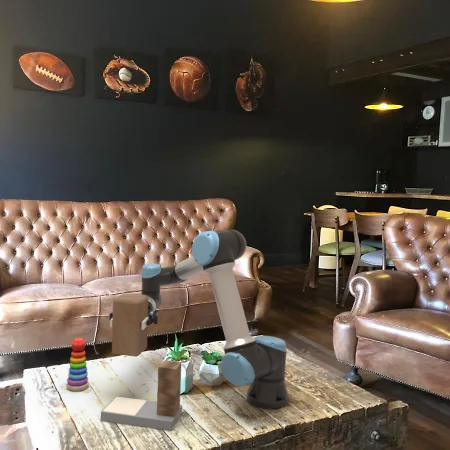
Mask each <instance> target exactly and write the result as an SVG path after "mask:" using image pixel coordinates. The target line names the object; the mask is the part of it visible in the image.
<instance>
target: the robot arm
mask: <svg viewBox="0 0 450 450" xmlns="http://www.w3.org/2000/svg"><path fill="white" fill-rule="evenodd" d="M191 246H192V247H191V252H192V255H191V256H190V257H187V258H186V259H184V260H182V261H180V262H178V263H176V264H174V265H172V266H166V267H161V265H160V264H158V263H146V264H143V266H142V270H141V293H140V295H146V296H148V317H146V318H145V319H144V320H143V321H142V330H144V329H145V328H146V327H147V326H148V327H149V326H150V325H152V324H154V325H157V324H158V322H159V321H158V319H159V316H158V309H159V308H160V307H161V304H162V302H163V298H162V295H161V287H163V286H168V285H169V286H170V285H176V284H181V283H182V284H183V283H185V282H187V281H188V279H189V278H191V277H193V276H196V275H199V274H200V273H202V272H204V273H205V274H207V275H208V276H209V280H210V283H211V287H212V291H213V295H214V299H215V302H216V306H217V311H218V315H219V318H220V324H221V326H222V330H223V333H224V337H225V338H224V339H225V345H224V346H223V352H224V355H223V356H222V357H221V361H220V369H221V372H222V374H223V376H224V378H225V379H226V381H228V382H230V384H231V385H233V386H237V387H242V386H246V385H248V389H247V392H246V400H247V402H248V403H249V404H251V405H253V406H255V407H258V408H261V409H267V410H269V409H268V408H276V409H279V408H278V407H281V408H283V407H282V406H284V405H285V406H287V405H288V403H289V393H288V388H287V385H286V380H285V378H286V363H287V361H286V360H287V352H288V351H287V343H286V342H285V340H284V339H281V338H278V337H275V336H270V335H258V336H256V337H252V336H251V334H250V330H249V325H248V321H247V318H246V315H245V310H244V305H243V303H242V299H241V296H240V293H239V292H240V291H239V289H238V284H237V281H236V277H235V273H234V267H235V265H236V260H239V259H241V258H242V257H243V256H244V254H245V253H246V250H247V241H246V238H245V237H244V235H243V234H242V233H241V232H240V231H238V230H237V229H236V230H235V229H219V230H215V229H214V230H212V229H211V230H208V231H207V230H206V231H202V232H200V233H198V234H197V236H196V237H195V238H194V241H193V243H192V245H191ZM108 317H109V319H108V320H109V328H112V327H113V311H112V312H110V313H109V315H108ZM286 404H287V405H286ZM285 406H284V407H285Z"/></svg>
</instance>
